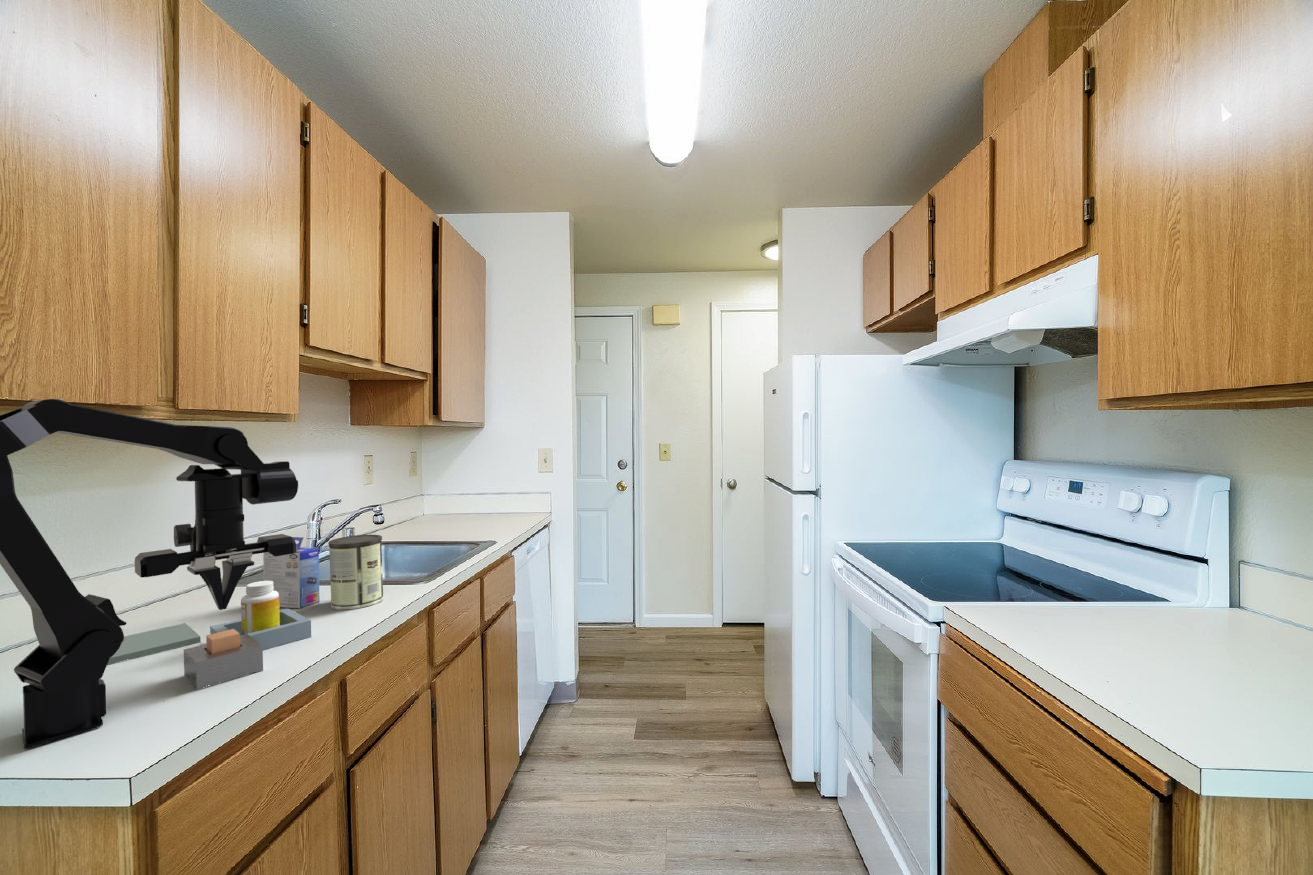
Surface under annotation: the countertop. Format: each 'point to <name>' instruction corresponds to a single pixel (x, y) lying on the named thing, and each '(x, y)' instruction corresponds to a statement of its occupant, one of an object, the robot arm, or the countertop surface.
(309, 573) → the ink cartridge box
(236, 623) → the tray
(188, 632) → the mat
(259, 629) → the supplement bottle
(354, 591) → the coffee can
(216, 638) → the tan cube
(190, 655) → the block
